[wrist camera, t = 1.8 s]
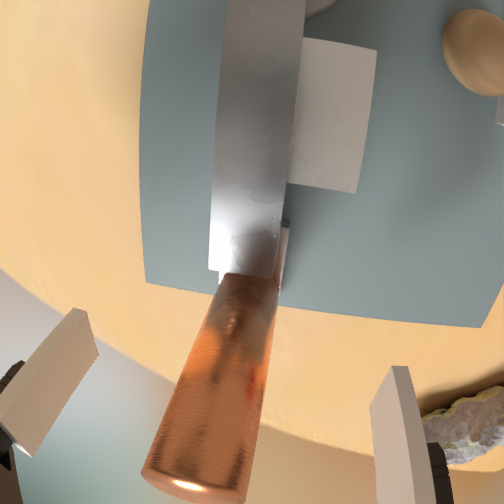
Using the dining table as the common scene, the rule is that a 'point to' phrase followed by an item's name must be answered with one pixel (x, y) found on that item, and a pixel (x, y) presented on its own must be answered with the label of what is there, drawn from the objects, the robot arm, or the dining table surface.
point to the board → (370, 179)
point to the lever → (257, 231)
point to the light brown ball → (475, 51)
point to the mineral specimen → (468, 426)
